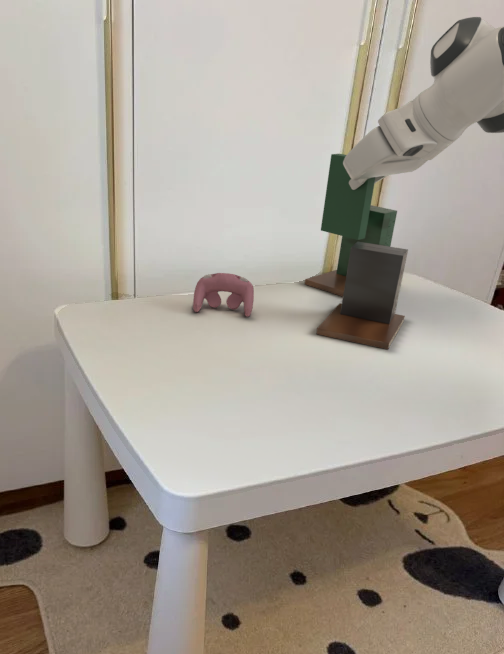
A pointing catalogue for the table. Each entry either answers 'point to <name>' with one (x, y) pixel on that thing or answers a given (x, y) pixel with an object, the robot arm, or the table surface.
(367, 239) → the green bookend
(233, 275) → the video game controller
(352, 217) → the green book
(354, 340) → the wooden bookend
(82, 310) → the table surface
